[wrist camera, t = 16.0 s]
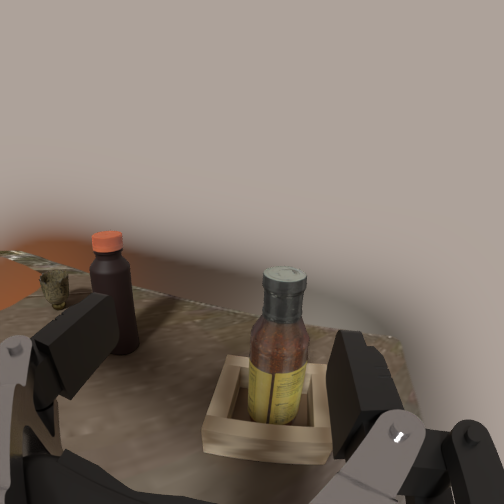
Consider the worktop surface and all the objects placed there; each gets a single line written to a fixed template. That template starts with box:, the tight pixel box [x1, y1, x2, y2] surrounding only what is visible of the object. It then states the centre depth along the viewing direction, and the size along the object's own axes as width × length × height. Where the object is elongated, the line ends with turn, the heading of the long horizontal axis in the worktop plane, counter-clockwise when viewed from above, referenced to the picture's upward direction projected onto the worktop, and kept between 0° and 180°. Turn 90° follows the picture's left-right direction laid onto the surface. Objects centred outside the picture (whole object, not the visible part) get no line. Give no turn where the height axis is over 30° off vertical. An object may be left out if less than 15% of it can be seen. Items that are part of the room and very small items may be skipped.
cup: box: [39, 270, 69, 310], centre depth 51 cm, size 8×7×8 cm
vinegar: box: [90, 231, 139, 355], centre depth 41 cm, size 7×7×20 cm
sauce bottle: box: [248, 266, 310, 426], centre depth 28 cm, size 6×6×20 cm
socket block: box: [201, 355, 333, 465], centre depth 31 cm, size 14×14×5 cm
